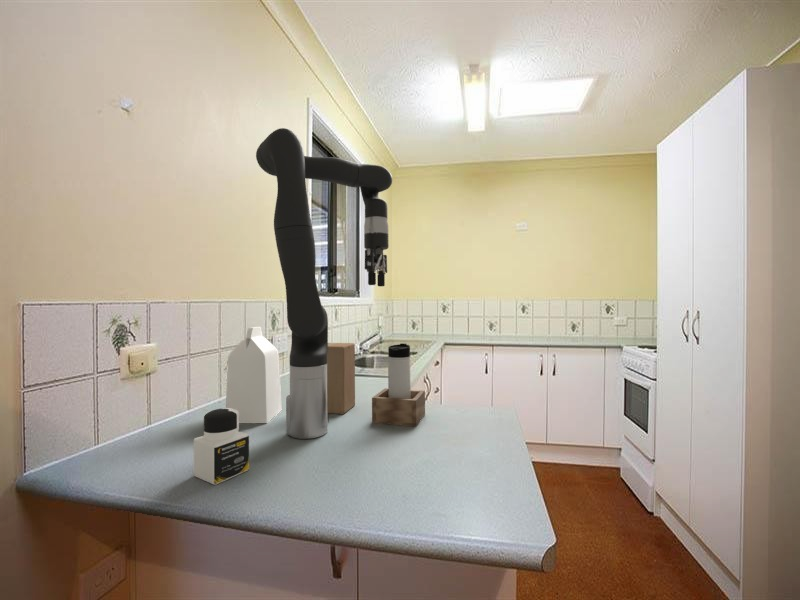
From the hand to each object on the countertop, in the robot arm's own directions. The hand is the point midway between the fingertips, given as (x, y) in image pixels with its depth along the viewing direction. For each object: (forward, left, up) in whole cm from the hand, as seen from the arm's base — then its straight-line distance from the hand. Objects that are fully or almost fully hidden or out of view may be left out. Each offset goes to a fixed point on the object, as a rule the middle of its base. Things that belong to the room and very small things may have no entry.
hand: (376, 285), depth 112 cm
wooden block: (-13, -3, -38) cm, 41 cm away
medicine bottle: (-15, -48, -38) cm, 63 cm away
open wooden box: (+9, -7, -38) cm, 40 cm away
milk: (-32, -16, -38) cm, 52 cm away
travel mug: (+9, -7, -38) cm, 39 cm away
